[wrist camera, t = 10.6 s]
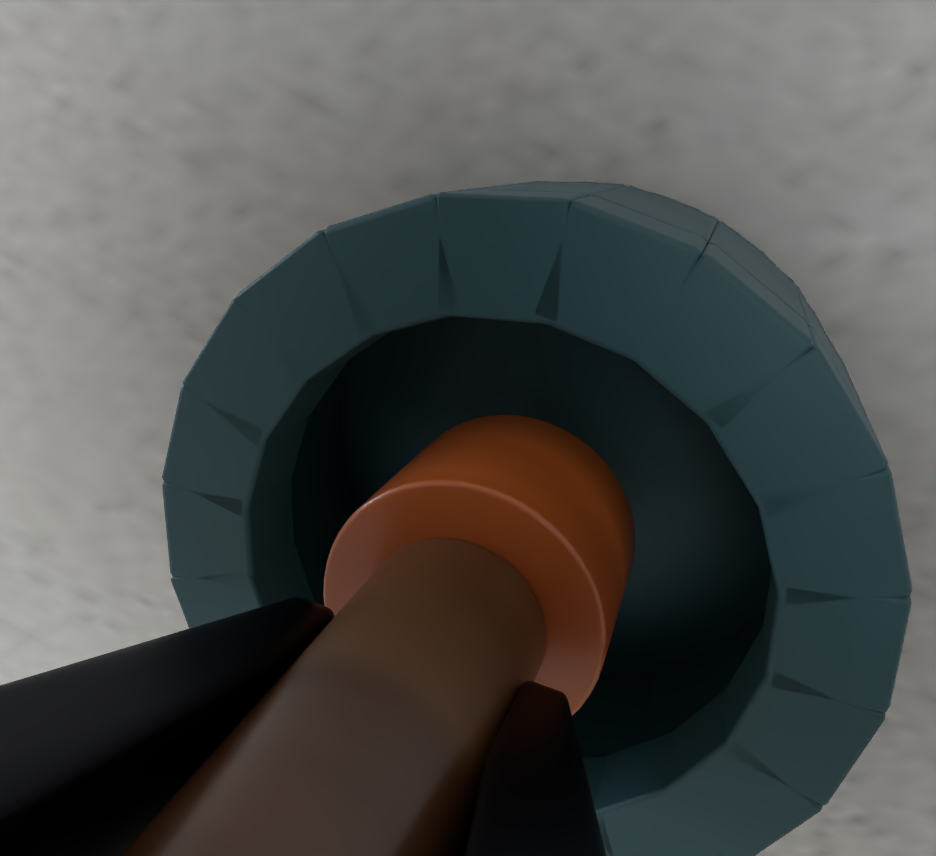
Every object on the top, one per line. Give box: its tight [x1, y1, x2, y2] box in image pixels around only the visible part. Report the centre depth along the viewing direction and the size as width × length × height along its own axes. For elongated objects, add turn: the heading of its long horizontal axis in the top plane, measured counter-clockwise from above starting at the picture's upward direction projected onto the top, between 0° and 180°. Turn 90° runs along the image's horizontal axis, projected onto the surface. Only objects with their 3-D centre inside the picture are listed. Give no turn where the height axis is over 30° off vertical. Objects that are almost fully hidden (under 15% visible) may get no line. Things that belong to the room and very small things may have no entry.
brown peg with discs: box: [120, 415, 635, 856], centre depth 8 cm, size 3×3×8 cm
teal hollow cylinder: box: [162, 181, 912, 856], centre depth 12 cm, size 9×9×5 cm
